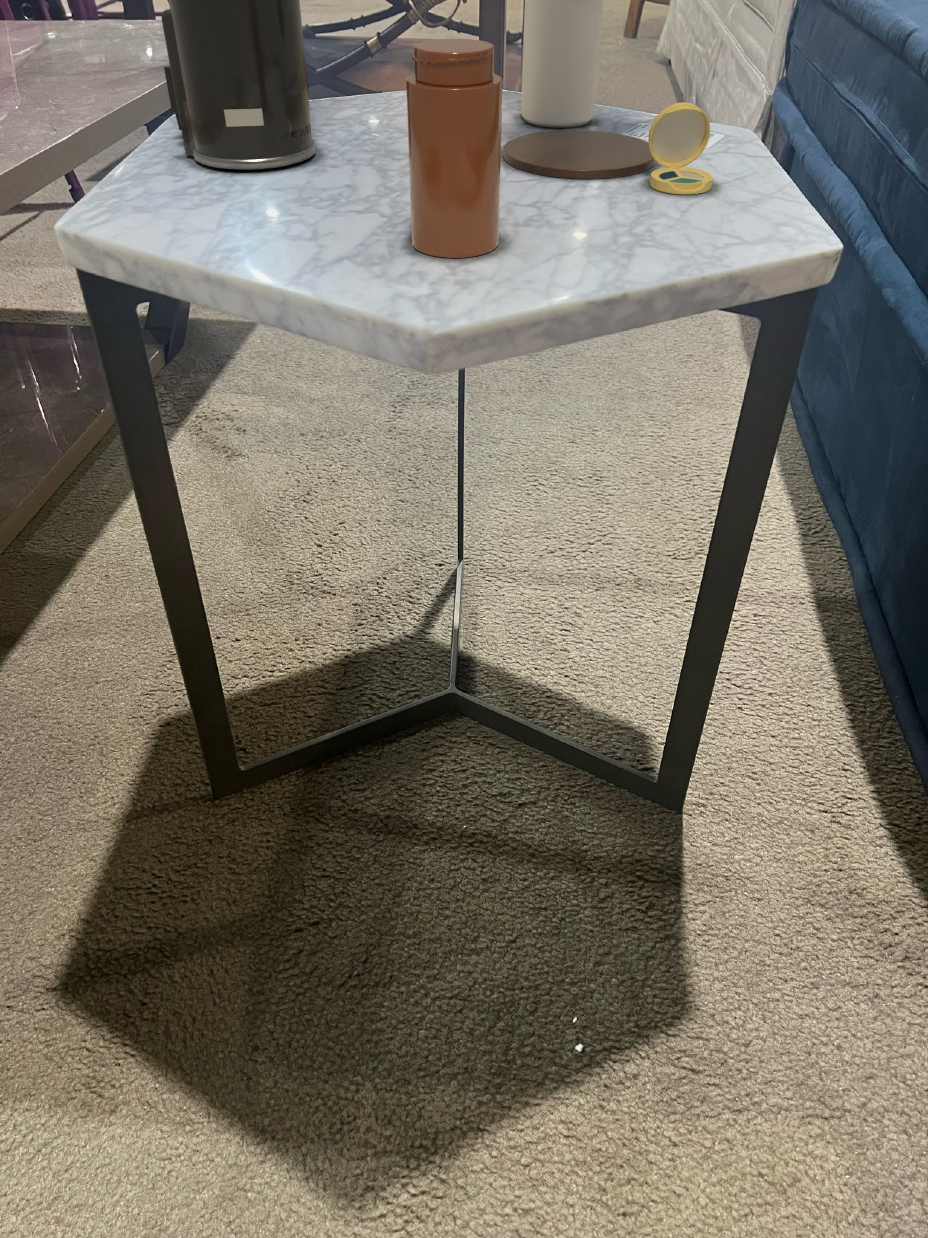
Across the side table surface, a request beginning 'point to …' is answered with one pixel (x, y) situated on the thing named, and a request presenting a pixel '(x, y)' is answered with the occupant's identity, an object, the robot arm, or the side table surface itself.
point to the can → (560, 61)
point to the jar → (454, 147)
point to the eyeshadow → (679, 149)
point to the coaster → (579, 154)
